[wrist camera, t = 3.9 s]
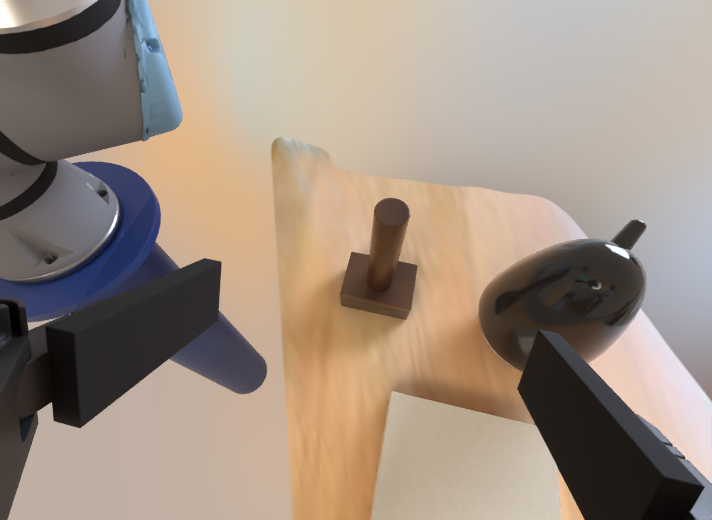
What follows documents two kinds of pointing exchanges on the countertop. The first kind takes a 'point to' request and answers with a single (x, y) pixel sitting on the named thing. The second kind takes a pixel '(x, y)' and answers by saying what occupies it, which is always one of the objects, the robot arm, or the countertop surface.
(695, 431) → the countertop surface
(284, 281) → the countertop surface
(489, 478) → the tile
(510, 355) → the black pear
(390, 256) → the brown peg on base
